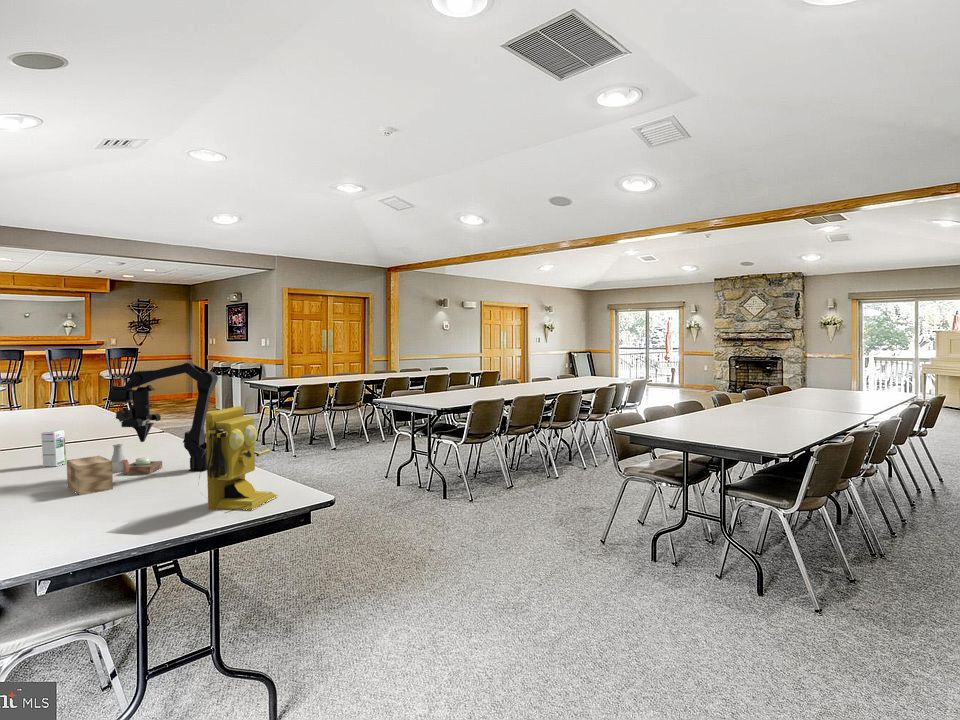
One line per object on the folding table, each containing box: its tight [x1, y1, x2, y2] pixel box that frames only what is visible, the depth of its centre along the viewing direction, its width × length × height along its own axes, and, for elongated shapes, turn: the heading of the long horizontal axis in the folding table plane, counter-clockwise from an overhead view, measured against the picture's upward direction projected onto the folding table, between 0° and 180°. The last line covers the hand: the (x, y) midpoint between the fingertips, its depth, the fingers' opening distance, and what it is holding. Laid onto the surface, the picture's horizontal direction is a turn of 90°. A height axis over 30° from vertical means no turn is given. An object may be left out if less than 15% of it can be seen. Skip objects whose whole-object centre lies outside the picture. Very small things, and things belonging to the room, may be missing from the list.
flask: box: [110, 443, 127, 463], centre depth 233 cm, size 7×7×10 cm
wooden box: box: [66, 455, 114, 496], centre depth 203 cm, size 10×14×10 cm
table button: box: [135, 457, 151, 466], centre depth 229 cm, size 5×5×3 cm
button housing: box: [122, 460, 163, 475], centre depth 229 cm, size 10×10×3 cm
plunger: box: [112, 459, 130, 475], centre depth 209 cm, size 8×5×5 cm, turn 139°
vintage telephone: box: [198, 405, 279, 514], centre depth 183 cm, size 31×14×30 cm, turn 170°
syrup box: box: [40, 429, 67, 468], centre depth 241 cm, size 6×6×14 cm
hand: (142, 441), depth 229 cm, fingers closed
